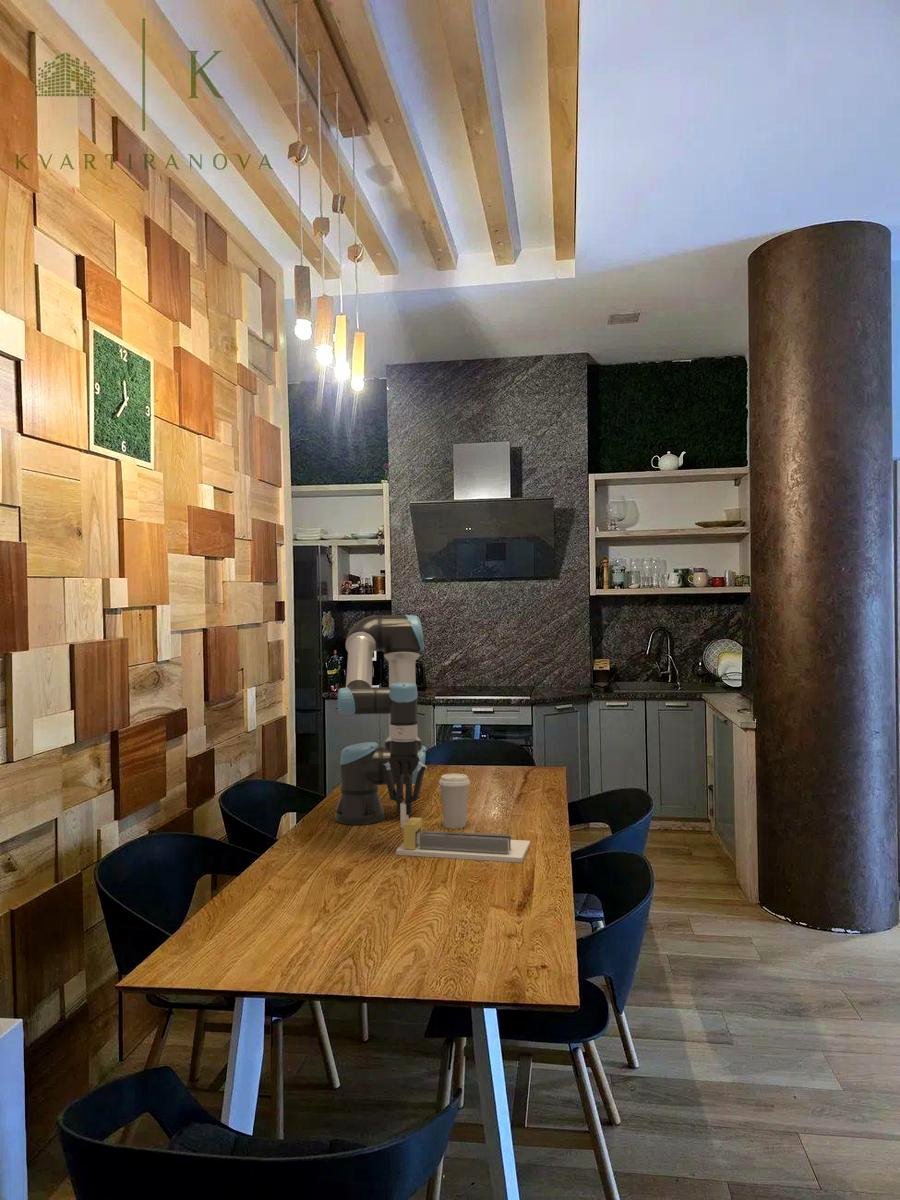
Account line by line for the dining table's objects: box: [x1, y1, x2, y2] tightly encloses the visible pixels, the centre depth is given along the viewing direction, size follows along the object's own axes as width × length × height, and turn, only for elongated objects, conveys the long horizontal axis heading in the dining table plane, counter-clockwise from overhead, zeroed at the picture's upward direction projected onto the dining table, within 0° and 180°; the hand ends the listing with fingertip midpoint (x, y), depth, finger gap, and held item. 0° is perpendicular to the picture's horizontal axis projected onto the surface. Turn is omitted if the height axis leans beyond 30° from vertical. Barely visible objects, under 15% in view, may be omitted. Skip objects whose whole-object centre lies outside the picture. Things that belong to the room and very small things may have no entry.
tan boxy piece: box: [403, 817, 423, 849], centre depth 228 cm, size 3×8×6 cm, turn 167°
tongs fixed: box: [415, 830, 509, 854], centre depth 225 cm, size 28×4×4 cm, turn 77°
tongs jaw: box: [422, 830, 512, 850], centre depth 226 cm, size 24×2×4 cm, turn 79°
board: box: [395, 839, 531, 863], centre depth 228 cm, size 34×16×1 cm, turn 77°
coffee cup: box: [438, 773, 471, 830], centre depth 253 cm, size 10×10×15 cm
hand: (404, 826), depth 228 cm, fingers closed
